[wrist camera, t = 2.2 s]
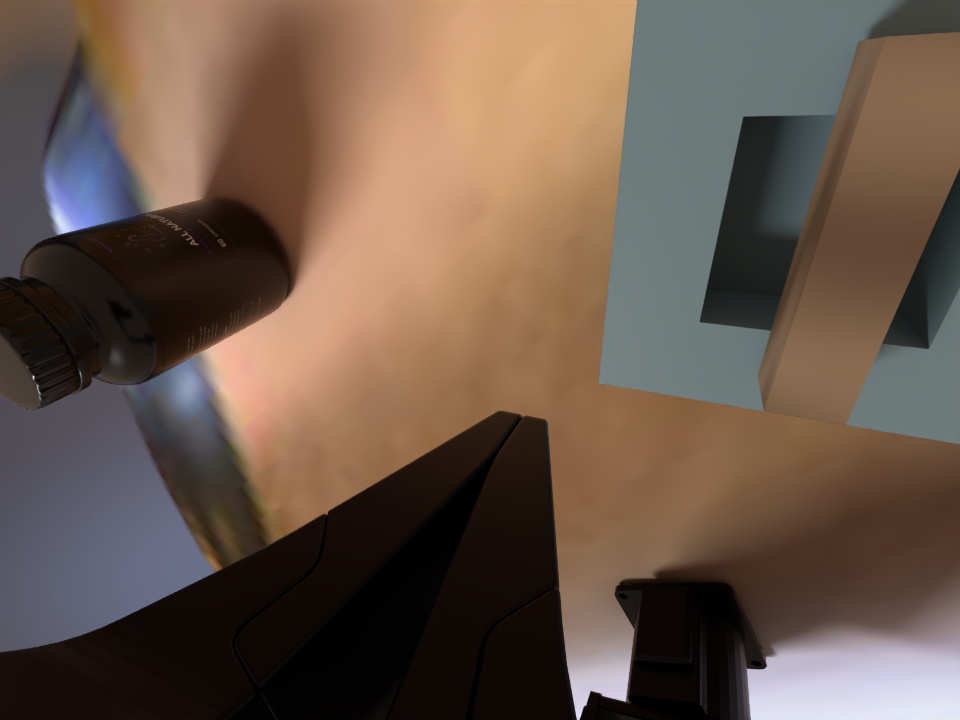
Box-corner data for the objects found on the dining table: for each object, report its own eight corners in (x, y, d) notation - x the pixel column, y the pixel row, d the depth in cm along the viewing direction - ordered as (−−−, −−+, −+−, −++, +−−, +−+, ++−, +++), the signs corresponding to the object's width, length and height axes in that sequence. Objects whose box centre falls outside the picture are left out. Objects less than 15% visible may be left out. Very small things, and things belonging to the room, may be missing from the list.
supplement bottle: (261, 183, 24) (-32, 259, 14) (312, 308, 27) (97, 439, 17) (176, 204, 27) (-114, 278, 17) (230, 314, 30) (8, 430, 20)
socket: (1207, 423, 15) (1324, 505, 12) (612, 341, 21) (598, 383, 18) (1699, -104, 9) (2177, -186, 6) (650, 1, 15) (638, -15, 12)
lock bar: (830, 386, 15) (845, 425, 13) (757, 375, 15) (763, 411, 14) (971, 33, 10) (1021, 27, 8) (858, 41, 11) (885, 36, 9)
